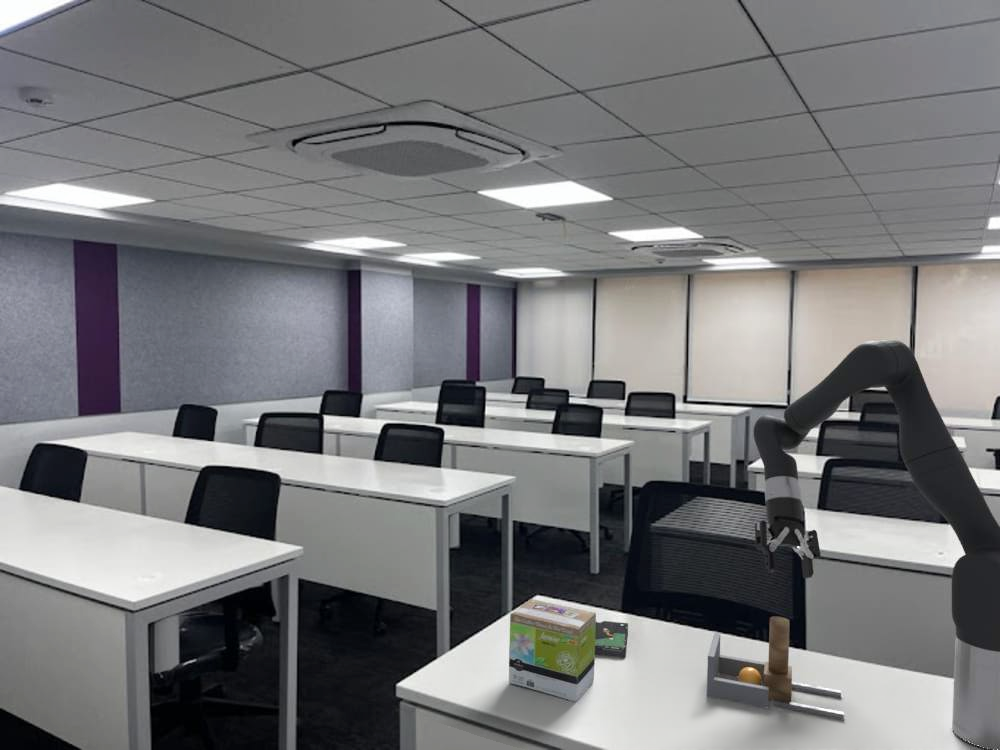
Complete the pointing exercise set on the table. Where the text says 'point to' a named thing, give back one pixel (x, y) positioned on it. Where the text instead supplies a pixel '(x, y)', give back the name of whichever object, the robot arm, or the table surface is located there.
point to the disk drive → (611, 639)
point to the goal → (729, 687)
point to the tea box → (552, 649)
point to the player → (778, 661)
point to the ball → (750, 676)
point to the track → (811, 708)
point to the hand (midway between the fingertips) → (790, 574)
